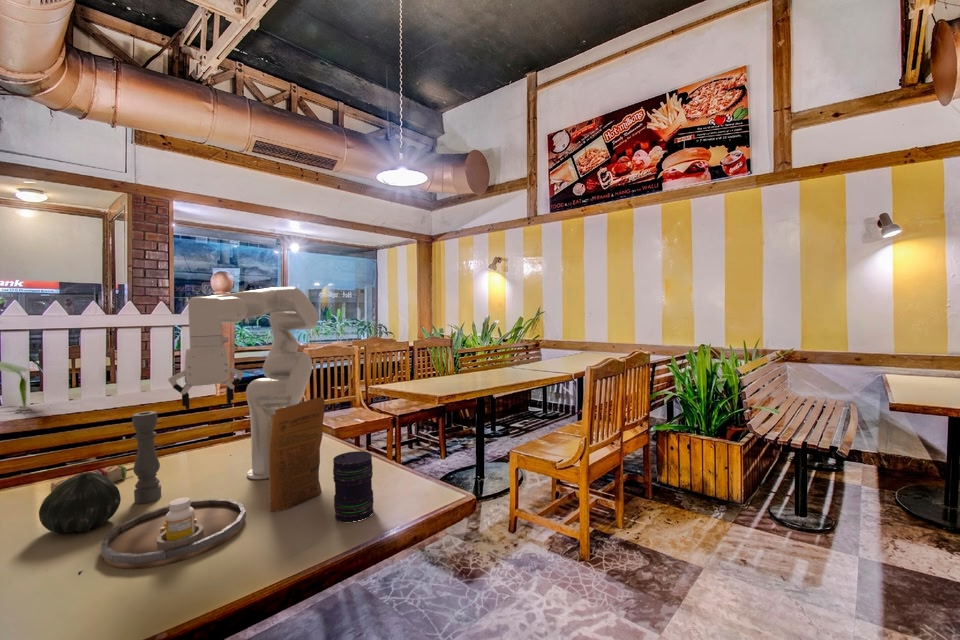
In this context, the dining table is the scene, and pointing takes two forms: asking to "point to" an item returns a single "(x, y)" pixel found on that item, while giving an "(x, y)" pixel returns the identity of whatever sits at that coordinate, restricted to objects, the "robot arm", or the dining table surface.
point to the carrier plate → (152, 531)
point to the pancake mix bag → (295, 453)
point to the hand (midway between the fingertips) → (208, 405)
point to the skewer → (104, 474)
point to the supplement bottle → (180, 520)
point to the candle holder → (146, 458)
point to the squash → (80, 503)
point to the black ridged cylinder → (353, 486)
